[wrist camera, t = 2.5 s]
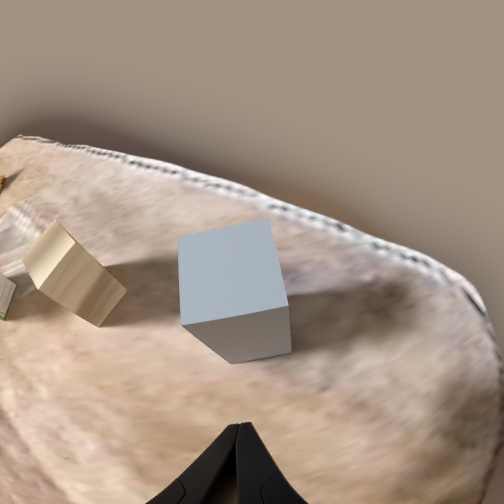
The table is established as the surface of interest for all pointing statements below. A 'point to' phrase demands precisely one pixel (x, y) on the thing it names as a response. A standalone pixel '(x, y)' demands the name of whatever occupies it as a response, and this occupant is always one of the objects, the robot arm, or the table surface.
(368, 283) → the table surface
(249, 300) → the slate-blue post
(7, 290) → the syrup box
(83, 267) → the birch post
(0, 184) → the frog figurine
